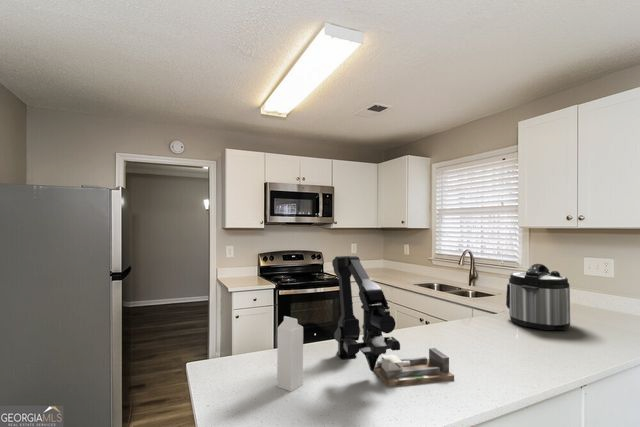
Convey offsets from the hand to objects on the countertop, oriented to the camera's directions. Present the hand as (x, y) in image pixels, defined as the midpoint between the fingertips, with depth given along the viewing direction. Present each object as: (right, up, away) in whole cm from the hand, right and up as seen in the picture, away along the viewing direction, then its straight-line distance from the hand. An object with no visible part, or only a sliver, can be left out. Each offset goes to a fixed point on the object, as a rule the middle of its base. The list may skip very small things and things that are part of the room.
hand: (371, 370), depth 115 cm
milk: (-27, -2, -6) cm, 28 cm away
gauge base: (+15, -3, +3) cm, 15 cm away
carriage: (+10, -1, 0) cm, 10 cm away
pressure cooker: (+97, -5, +62) cm, 115 cm away
